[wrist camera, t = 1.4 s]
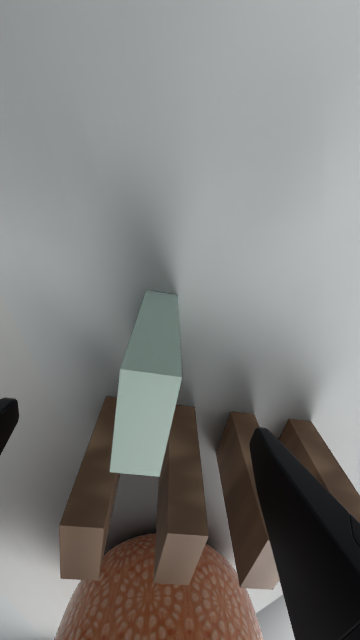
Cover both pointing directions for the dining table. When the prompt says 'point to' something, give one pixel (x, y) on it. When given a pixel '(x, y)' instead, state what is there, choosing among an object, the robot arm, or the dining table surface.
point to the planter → (159, 600)
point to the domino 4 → (245, 505)
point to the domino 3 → (180, 503)
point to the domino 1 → (90, 504)
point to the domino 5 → (320, 462)
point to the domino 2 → (148, 388)
